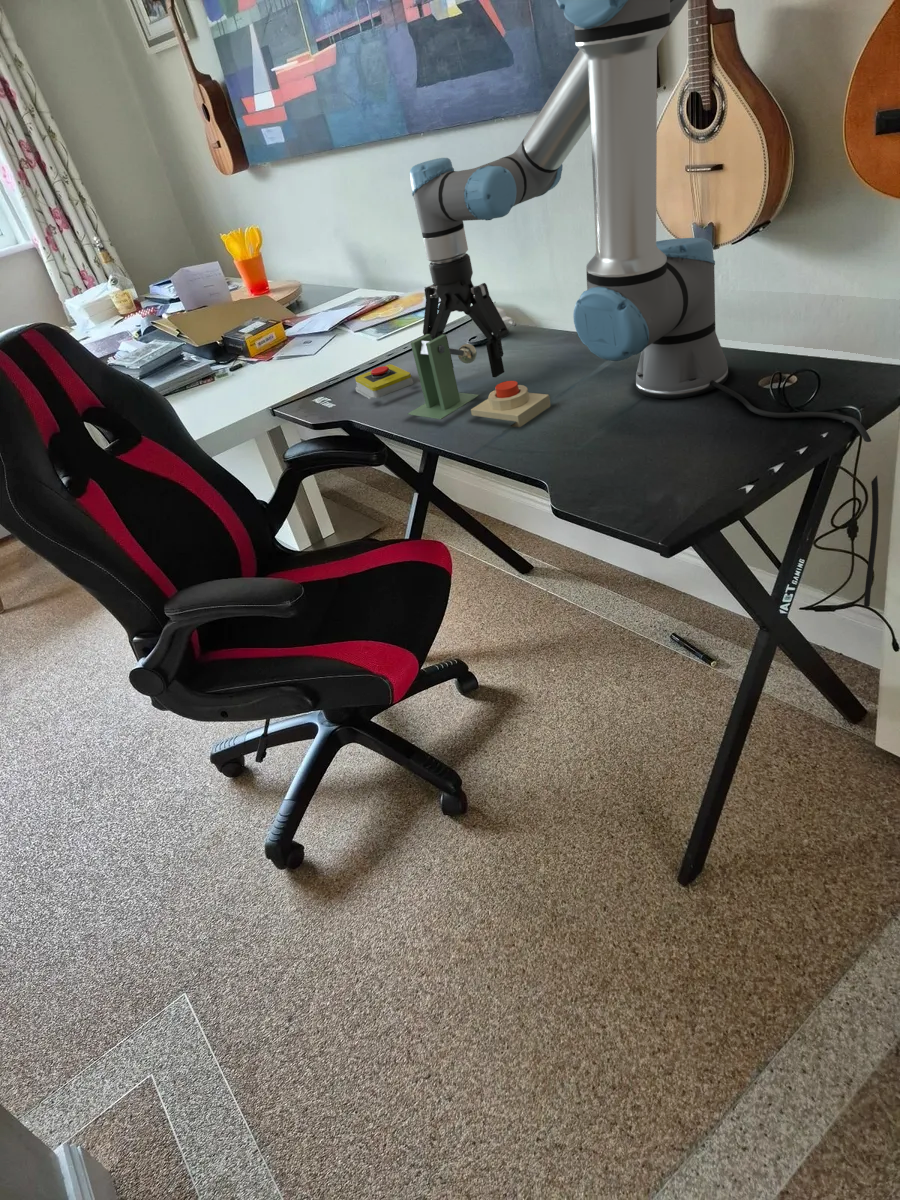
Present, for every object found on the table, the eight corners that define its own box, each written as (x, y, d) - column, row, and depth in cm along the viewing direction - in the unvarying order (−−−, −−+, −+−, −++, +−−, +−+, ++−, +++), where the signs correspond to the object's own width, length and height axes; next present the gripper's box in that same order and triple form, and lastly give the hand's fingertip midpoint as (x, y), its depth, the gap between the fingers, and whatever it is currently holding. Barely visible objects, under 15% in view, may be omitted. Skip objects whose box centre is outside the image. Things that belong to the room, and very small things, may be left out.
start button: (523, 391, 137) (522, 381, 136) (509, 400, 135) (508, 390, 134) (506, 389, 140) (504, 379, 139) (492, 398, 138) (490, 388, 137)
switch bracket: (447, 396, 154) (431, 327, 146) (480, 400, 148) (465, 328, 141) (408, 419, 148) (390, 348, 141) (442, 424, 143) (424, 351, 135)
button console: (550, 406, 138) (547, 384, 136) (519, 427, 134) (515, 405, 132) (503, 400, 146) (500, 380, 143) (472, 420, 141) (468, 400, 139)
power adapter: (522, 338, 174) (518, 311, 171) (503, 345, 173) (498, 318, 170) (501, 329, 183) (497, 304, 180) (483, 335, 182) (478, 310, 179)
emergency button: (387, 356, 170) (415, 369, 158) (392, 375, 172) (420, 390, 161) (348, 371, 167) (374, 385, 156) (354, 390, 170) (380, 405, 158)
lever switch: (465, 363, 152) (467, 344, 151) (479, 364, 149) (481, 345, 148) (417, 357, 142) (418, 336, 141) (430, 358, 140) (432, 337, 139)
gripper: (514, 248, 133) (534, 368, 145) (415, 253, 149) (440, 361, 161) (486, 262, 129) (509, 384, 141) (387, 265, 145) (415, 375, 157)
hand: (472, 372), depth 151 cm, fingers open, 13 cm apart
